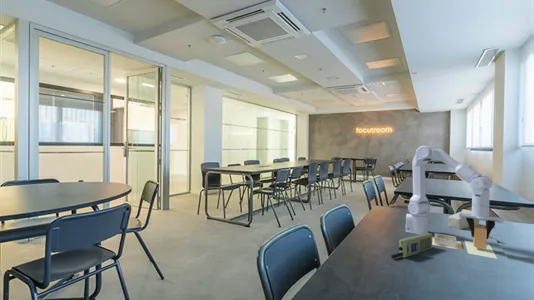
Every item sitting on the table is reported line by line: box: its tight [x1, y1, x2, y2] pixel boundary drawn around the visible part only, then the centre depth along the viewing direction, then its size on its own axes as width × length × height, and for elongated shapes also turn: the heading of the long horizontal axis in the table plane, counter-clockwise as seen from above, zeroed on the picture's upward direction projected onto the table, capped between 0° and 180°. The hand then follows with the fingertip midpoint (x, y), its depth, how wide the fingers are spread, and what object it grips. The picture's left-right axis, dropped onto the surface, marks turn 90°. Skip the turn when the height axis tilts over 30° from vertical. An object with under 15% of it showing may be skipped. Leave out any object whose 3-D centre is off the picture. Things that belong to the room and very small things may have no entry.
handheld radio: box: [390, 232, 433, 259], centre depth 109 cm, size 7×3×25 cm
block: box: [447, 208, 480, 230], centre depth 149 cm, size 19×8×8 cm, turn 117°
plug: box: [472, 225, 488, 249], centre depth 113 cm, size 4×4×8 cm
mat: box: [464, 240, 498, 260], centre depth 113 cm, size 9×18×1 cm, turn 147°
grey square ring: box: [434, 233, 457, 248], centre depth 120 cm, size 8×8×2 cm
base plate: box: [432, 236, 464, 251], centre depth 120 cm, size 12×12×1 cm
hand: (479, 237), depth 113 cm, fingers closed on plug, 4 cm apart
